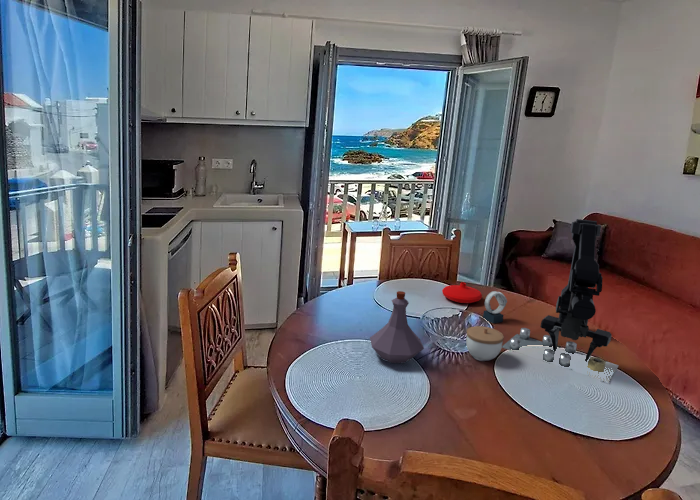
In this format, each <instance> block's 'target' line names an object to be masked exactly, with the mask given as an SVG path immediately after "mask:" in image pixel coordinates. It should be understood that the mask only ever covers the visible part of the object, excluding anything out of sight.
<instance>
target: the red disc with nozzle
mask: <svg viewBox="0 0 700 500" xmlns="http://www.w3.org/2000/svg"><path fill="white" fill-rule="evenodd" d="M441 291H442V292H441V293H442V295H443V296H444V297H445V298H447V299H448V300H450V301H453V302H455V303H461V304H473V303H475V302H479V301H481V300H482V297H483V294H482V292H481V291H479V289H477V288H474V287H471V286H468V285H467V283H466V282H463V281H462V282H460V284H452V285H451V284H450V285H447V286H444V287H443V288H442V290H441Z"/></svg>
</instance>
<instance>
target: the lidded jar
mask: <svg viewBox="0 0 700 500" xmlns="http://www.w3.org/2000/svg"><path fill="white" fill-rule="evenodd" d="M504 338H505V337H504V334H503V333H502V332H501V331H499V330H498V329H496V328H493V327H488V326H482V325H481V326H480V325H474V326H470V327H468V328H467V329H466V343H465V344H466V348H467V350H468V351H467V352H469V354H470V355H471V356H472V358H473V359H475V360H477V361H479V362H485V361H491V360H493V359H495V358H496V357H497V356H499V354H500V352H501V350H502V346H503V343H504V342H503V341H504V340H505V339H504Z"/></svg>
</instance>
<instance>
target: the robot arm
mask: <svg viewBox="0 0 700 500" xmlns="http://www.w3.org/2000/svg"><path fill="white" fill-rule="evenodd" d="M601 230H602V225H601V224H598V222H597V220H589V219H579V218H577V219H575V221H572V222H571V225H570V233H571V237H572V241H573V243H574V249H573V254H572V260H571V266H570V270H569V277H568V283H567V285H565V286H564V288H562V289H561V293H560V295H558V298H557V300H556V304H555V313H557V314H558V316H557V317H556V316H553V315H549V314H548V315H546V316H545V317H544V318H542V320H541V322H540V328H541V329H544V332H546V333H548V334H549V336H550V337H551V340H552V345H553V350H554V352H555V351H556V349H557V346H558V344H559V335H560V336H561V337H562V338H567V339H571V340H573V341H577V340H579V339H580V338H592V340H591V342H590V343H589V347H588V349H587V353H586V354H585V355H586V359H585V361H586V362H587V360H588V359H589V357H592V354H593V353H594V351H595V350H596V349H597V348H602V347H608V345H609V344H610V342H611V341H612V336H613V335H612V333H611V332H610V331H607V330H605V329H600V328H597V329H596V330H595V331H593V330H589V325H588V323H589V320H590V319H592V318H593V317H595V315H596V311H597V309H596V306H595V303H594V299H593V298H594V296H598V297H599V296H600V293H602V292H603V275H602V273H601V272H600V265H599V263H598V262H597V261H596V259H595V256H596V241H597V237H600V236H601ZM595 288H596V289H595Z"/></svg>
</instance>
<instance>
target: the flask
mask: <svg viewBox="0 0 700 500" xmlns="http://www.w3.org/2000/svg"><path fill="white" fill-rule="evenodd" d="M405 297H406V292H405V291H402V290H400V291H399V290H398V291H396V297H395V298H393V299H391V302H392V305H393V308H392V312H391V314H390V318H389V319H388V322H387V323H386V324H385V325H384V326H383V327H382V328H380V329H379V330H378V331H377V332H375V333H374V334H373V335H371V336H370V337H369V340H370V344H371V348H372V349H373V350H374V352H375V353H376V354H377V355H378V356H379V358H380V359H381V358H382V359H381V360H383V359H384V361H386V362H387V363H390V362H391V363H390V364H405V363H407V362H409V361H410V359H411V360H412V359H413V358H414V357H416V356H417V355H418V354H419V353H421V352H422V351H423V350H424V349H425V348H424V344H423V343H422V341H421V339H420V338H419V336H418V335H417V334H416V333H415V331H413V329H412V328H411V327H410V326H409V324H408V317H407V307H408V306H409V303H410V302H409V301H408V300H407V299H406V298H405Z"/></svg>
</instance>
